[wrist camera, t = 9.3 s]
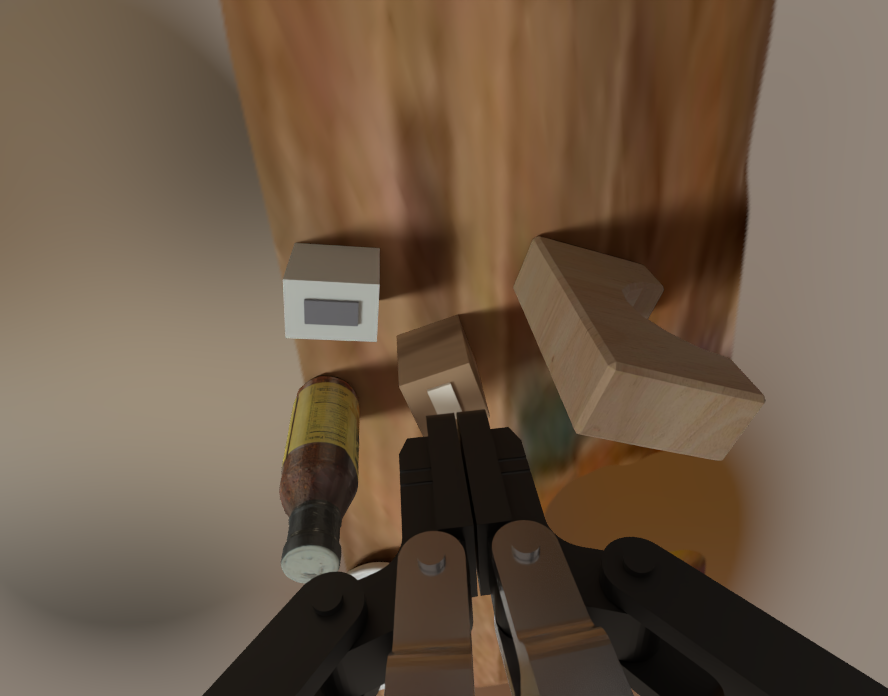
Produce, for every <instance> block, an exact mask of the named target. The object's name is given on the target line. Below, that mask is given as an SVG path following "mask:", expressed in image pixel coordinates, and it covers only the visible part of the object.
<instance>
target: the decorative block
mask: <svg viewBox="0 0 888 696" xmlns="http://www.w3.org/2000/svg"><path fill="white" fill-rule="evenodd" d="M513 288H514V290H515V293H516V295H517V297H518V300H519V302H520V304H521V307H522V309H523V311H524V313H525V316H526V318H527V320H528V323H529V325H530V327H531V330H532V332H533V334H534V337H535V339H536V341H537V344H538V346H539V348H540V351H541V353H542V355H543V358H544V360H545V362H546V364H547V367H548V369H549V371H550V374H551V376H552V378H553V380H554V383H555V385H556V387H557V390H558V392H559V394H560V397H561V399H562V401H563V404H564V406H565V408H566V411H567V413H568V415H569V418H570V420H571V422H572V425H573V427H574V429H575V431H576V433H577V434H581V435H586V436H591V437H596V438H601V439H607V440H612V441H617V442H622V443H627V444H632V445H637V446H643V447H648V448H653V449H658V450H664V451H669V452H674V453H680V454H685V455H690V456H696V457H701V458H706V459H712V460H723V459H724V457H725V456H726V454H727V453H728V452H729V450H730V449H731V448H732V446H733V445H734V444H735V442H736V441H737V440H738V438H739V437H740V435H741V434H742V433H743V431H744V430H745V429H746V427H747V426H748V424H749V423H750V422H751V420H752V419H753V418H754V416H755V415H756V414H757V412H758V411H759V410H760V408H761V407H762V405H763V404H764V403H765V397H764V395H763V394H762V393H761V392H760V390H759V389H758V388H757V387H756V386H755V385H754V384H753V383H752V382H751V381H750V380H749V379H748V377H747V376H746V375H745V374H744V373H743V372H742V371H741V370H740V369H739V368H738V367H737V366H736V365H735V363H734V362H733V361H732V360H731V359H730V358H728V357H725V356H722V355H719V354H716V353H713V352H710V351H707V350H704V349H701V348H698V347H696V346H694V345H692V344H690V343H688V342H686V341H684V340H683V339H681V338H679V337H677V336H675V335H673V334H671V333H669V332H667V331H665V330H664V329H662V328H661V327H659V326H657V325H656V324H654V323H653V322H651V321H650V320H648V318H649V316H650V314H651V313H652V311H653V309H654V307H655V305H656V304H657V302H658V300H659V298H660V296H661V295H662V293H663V291H664V288H663V285H662V284H661V283H660V282H659V281H658V280H657V279H656V278H655V277H654V276H653V275H652V274H651V272H650V271H649V270H648V269H647V268H646V267H645V266H644V265H642V264H638V263H635V262H631V261H628V260H624V259H620V258H617V257H613V256H610V255H606V254H602V253H599V252H595V251H592V250H588V249H584V248H581V247H577V246H573V245H570V244H566V243H562V242H559V241H555V240H551V239H548V238H544V237H541V236H538V237H536V238H534V239H533V241H532V243H531V245H530V248H529V250H528V253H527V255H526V258H525V260H524V262H523V265H522V267H521V270H520V272H519V275H518V277H517V280H516V282H515V284H514V287H513Z"/></svg>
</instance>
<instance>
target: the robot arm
mask: <svg viewBox="0 0 888 696" xmlns="http://www.w3.org/2000/svg"><path fill="white" fill-rule="evenodd" d="M456 417H457V425H456V419H455V414H454V413H446V414H437V415H428V416H426V422H427V432H428V436H427V437H418V438H409V439H407V440H406V442H405V444H404V446H403V448H402V450H401V452H400V454H399V464H400V486H401V488H400V490H401V515H402V544H401V547H400V550H399V552H398V553H397V555H396V557H395V558H394V559H393V560H392V561H391V562H390V563H389V564H388V565H387V566H386V567H384V568H383V569H381V570H379V571H377V572H375V573H373V574H371V575H368V576H366V577H364V578H362V579H359V580H357V579H356V578H355V577H353V576H352V575H350V574H347V573H344V572H328V573H323V574H321V575H318V576H316V577H314V578H312V579H311V580H310V581H308V582H307V583H306V584H305V585H304V586H303V587H302V588H301V589H300V590H299V591H298V592H297V593H296V594H295V595H294V596H293V598H292V599H291V600H290V601H289V602H288V603H287V604H286V605H285V606H284V607H283V609H282V610H281V611H280V612H279V613H278V614H277V615H276V616H275V617H274V618H273V619H272V620H271V621H270V623H269V624H268V625H267V626H266V627H265V628H264V629H263V630H262V631H261V632H260V633H259V635H258V636H257V637H256V638H255V639H254V640H253V641H252V642H251V643H250V644H249V645H248V646H247V648H246V649H245V650H244V651H243V652H242V653H241V654H240V655H239V656H238V657H237V659H236V660H235V661H234V662H233V663H232V664H231V665H230V666H229V667H228V668H227V669H226V671H225V672H224V673H223V674H222V675H221V676H220V677H219V678H218V679H217V680H216V682H214V683H213V685H212V686H211V687H210V688H209V689H208V690H207V691H206V692H205V693H204V694H203V696H376V695H377V693H378V691H379V689H380V686H381V685H383V684H385V692H384V696H475V692H474V674H473V657H472V640H471V630H472V627H473V611H472V597H476V596H478V592H477V576H478V582H479V588H480V594H481V596H482V595H490V594H491V598H492V603H493V609H494V624H495V632H496V635H497V639H498V643H499V647H500V651H501V655H502V659H503V663H504V666H505V670H506V674H507V678H508V682H509V686H510V689H511V693H512V696H634V695H633V693H632V690H631V688H632V689H633V690H634V691H635V692H636V693H638V694H639V695H640V696H888V688H886V687H885V686H883V685H882V684H880V683H878V682H877V681H875V680H873V679H872V678H870V677H869V676H867V675H865V674H864V673H862V672H861V671H859V670H857V669H856V668H854V667H853V666H851V665H849V664H848V663H846V662H845V661H843V660H841V659H840V658H838V657H836V656H835V655H833V654H832V653H830V652H828V651H827V650H825V649H824V648H822V647H820V646H819V645H817V644H816V643H814V642H812V641H810V640H809V639H807V638H806V637H804V636H803V635H801V634H799V633H798V632H796V631H795V630H793V629H791V628H790V627H788V626H787V625H785V624H783V623H782V622H780V621H778V620H777V619H775V618H774V617H772V616H771V615H769V614H767V613H766V612H764V611H763V610H761V609H759V608H758V607H756V606H754V605H753V604H751V603H749V602H748V601H746V600H745V599H743V598H742V597H740V596H738V595H737V594H735V593H734V592H732V591H730V590H728V589H727V588H725V587H724V586H722V585H721V584H719V583H718V582H716V581H714V580H712V579H711V578H709V577H708V576H706V575H705V574H703V573H701V572H700V571H698V570H697V569H695V568H693V567H692V566H690V565H689V564H687V563H685V562H684V561H682V560H681V559H679V558H677V557H676V556H674V555H673V554H671V553H669V552H668V551H666V550H664V549H663V548H661V547H660V546H658V545H656V544H655V543H653V542H651V541H648V540H646V539H642V538H637V537H624V538H619V539H617V540H614V541H613V542H611V543H610V544H609V545H608V546H607V547H606V548H605V550H604V551H603V550H598V549H592V548H585V547H580V546H576V545H573V544H570V543H568V542H566V541H564V540H562V539H561V538H559V537H558V536H557V535H556V534H554V533H553V531H552V530H551V529H550V528H549V526H548V525H547V522H546V520H545V517H544V514H543V511H542V507H541V504H540V501H539V497H538V494H537V491H536V488H535V484H534V481H533V478H532V475H531V472H530V468H529V465H528V461H527V459H526V455H525V452H524V448H523V445H522V442H521V440H520V439H519V438H518V437H517V435H516V434H515V433H514V432H513V431H512V430H511V429H510V428H509V427H505V428H496V429H490V426H489V422H488V418H487V414H486V410H485V409H481V410H472V411H463V412H457V413H456ZM476 570H477V575H476Z"/></svg>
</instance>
